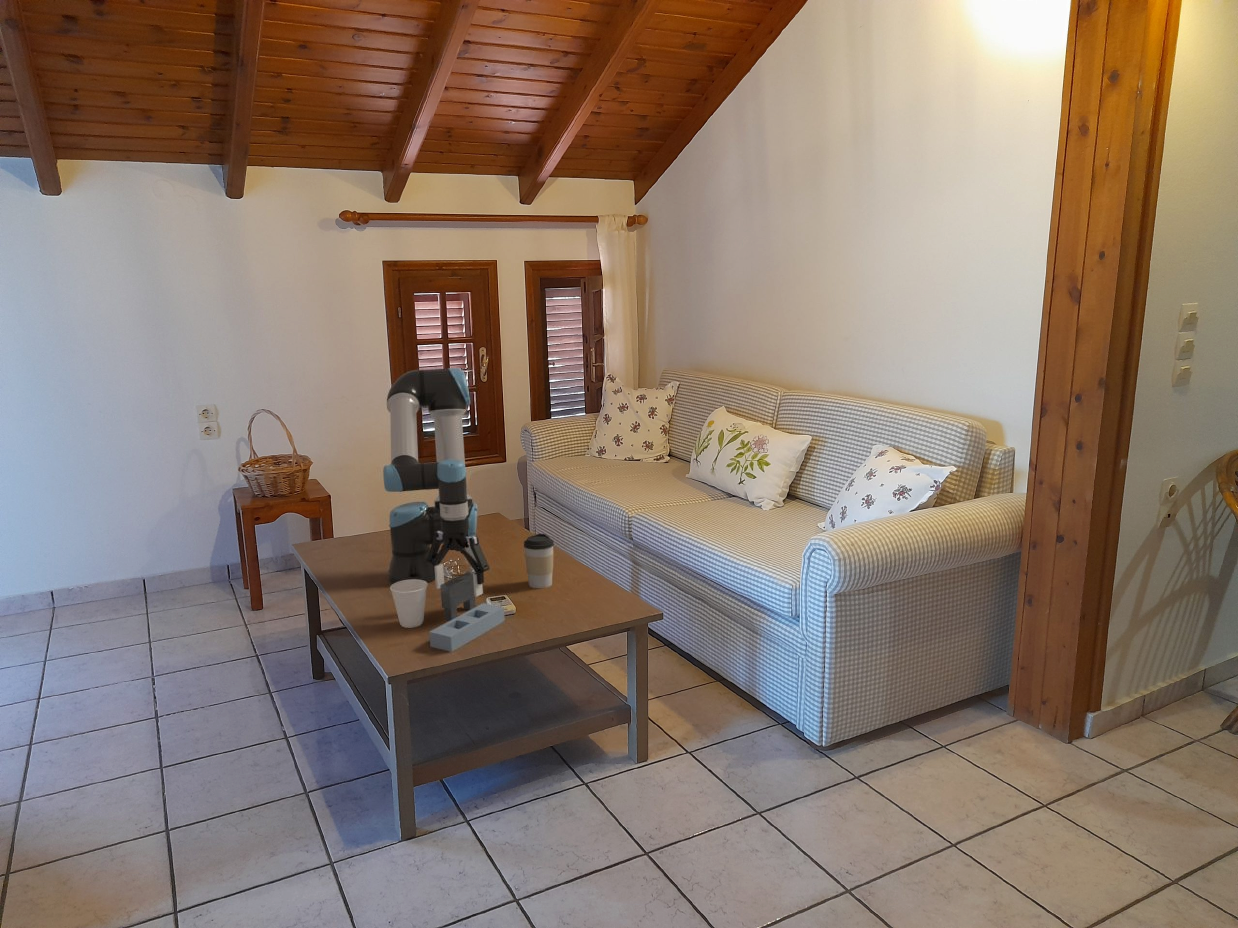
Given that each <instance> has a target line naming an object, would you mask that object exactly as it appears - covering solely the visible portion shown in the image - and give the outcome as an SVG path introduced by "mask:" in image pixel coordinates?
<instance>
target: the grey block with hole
mask: <svg viewBox="0 0 1238 928" xmlns="http://www.w3.org/2000/svg"><path fill="white" fill-rule="evenodd" d="M505 621H506V619H505V607H504V606H500V605H496V604H490V603H486V602H483V603H480V604H479V605H477V606H476V607H475V608H473V609H471V610H467V611H466V612H464V613H462V614H460V615H457V617H456V618H454V619H452V620H449V621H447V622H445V623H443V624H441V625H439V626H437V627H436V628H434V629H432V630H430V631H429V632H428V633H429V643H430V645H429V646H430V647H431V648H435V649H438V650H442V651H448V652H450V653H452V652H454V651H456V650H457V649H459V648H461V647H463V646H464V645H466V644H467V643H470V642H471V641H474V640H475V639H476V638H479V637H480V636H482V635H484V634H485V633H487V632H488V631H490V630H492V629H493V628H495V627H498V626H499V625H500V624H502V623H504V622H505Z"/></svg>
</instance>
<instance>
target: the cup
mask: <svg viewBox="0 0 1238 928" xmlns="http://www.w3.org/2000/svg"><path fill="white" fill-rule="evenodd" d="M428 585H429V584H428V583H427V582H426V581H423V580H417V579H411V580H403V581H399V582H396V583H394V584H392V583H391V584H390V587H389V590H390V591H391V595H392V598H393V599H392V600H393V602H394V606H395V609H396V614H397V617H398V621H399V624H400V626H402V627H403V628H406V629H407V628H408V629H412V628H417V627H419V626H421V625H422V624H423V623H424V618H425V617H424V616H425V610H426V609H425V606H426V596H427V589H428Z"/></svg>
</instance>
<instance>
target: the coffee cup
mask: <svg viewBox="0 0 1238 928" xmlns="http://www.w3.org/2000/svg"><path fill="white" fill-rule="evenodd" d="M554 542H555V541H554V539H552V538H551V537H550V536H548V535H547V534H545V533H537V534H535V535H529V536H528V537H527V539H526V540H524V541H523V548H524V557H525V558H524V559H525V565H526V573H527V579H528V586H529V587H531V588H533V589H546V588H548V587H551V586H553V571H554V546H555V543H554Z"/></svg>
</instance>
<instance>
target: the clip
mask: <svg viewBox="0 0 1238 928" xmlns="http://www.w3.org/2000/svg"><path fill="white" fill-rule="evenodd" d="M473 573H474V572H469V571H467V572H464V573H462V574H460V575H459V576H456V577H454V578H452V579H450V580H448V581H445V582H444V583H443V584H441V585H440V586H441V588H440V596H441V597H440V600H441V608H442V609H444V611H443V612H444V619H445V620H447V621H448V620H449V621H451V620H452V619H454V618H456V617H458V606H460V605H463V606H462V607H463V610H467V611H469V610H471V609H473V608H475V607H477V606H476V605H477V603H476V596H474V580H473Z"/></svg>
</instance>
